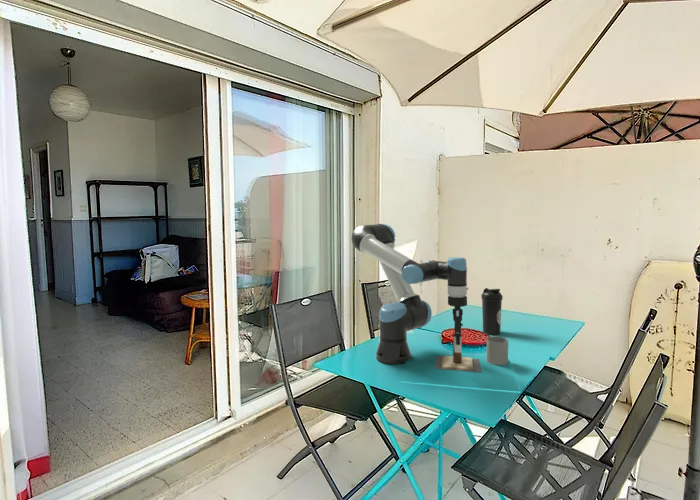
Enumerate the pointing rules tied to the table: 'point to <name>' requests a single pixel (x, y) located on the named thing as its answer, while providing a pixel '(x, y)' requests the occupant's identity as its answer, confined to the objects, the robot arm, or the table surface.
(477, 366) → the mat
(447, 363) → the lid
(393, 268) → the robot arm
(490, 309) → the water bottle
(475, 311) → the table surface
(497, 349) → the cup
